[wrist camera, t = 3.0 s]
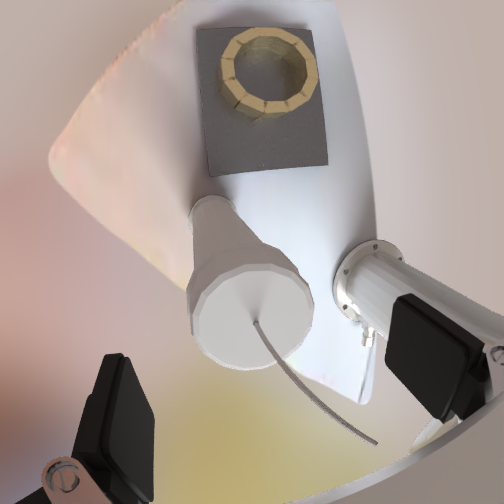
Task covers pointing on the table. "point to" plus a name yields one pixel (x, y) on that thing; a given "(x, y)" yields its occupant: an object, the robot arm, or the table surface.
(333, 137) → the table surface
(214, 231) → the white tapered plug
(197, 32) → the fitting base
